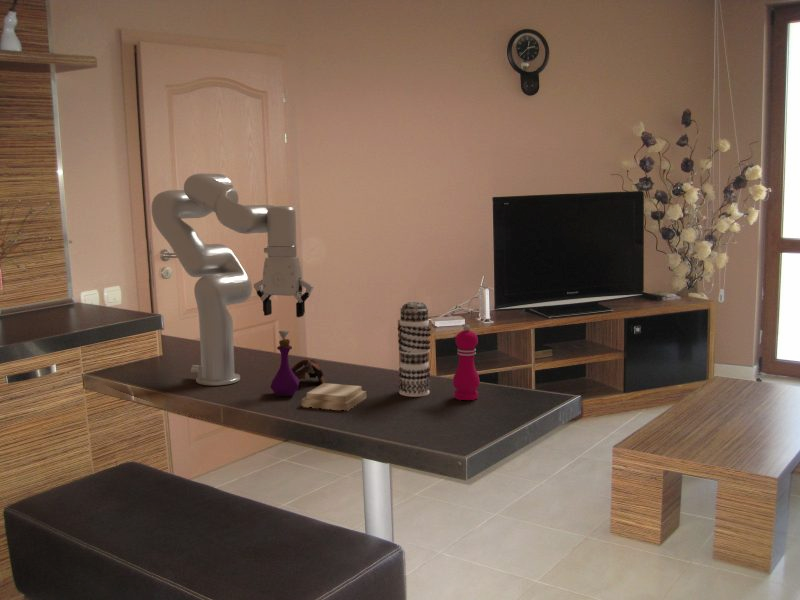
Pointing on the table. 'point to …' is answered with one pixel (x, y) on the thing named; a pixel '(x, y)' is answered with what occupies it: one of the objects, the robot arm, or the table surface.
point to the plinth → (334, 397)
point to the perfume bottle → (284, 371)
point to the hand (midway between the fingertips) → (283, 315)
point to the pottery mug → (308, 370)
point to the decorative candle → (414, 350)
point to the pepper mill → (466, 366)
